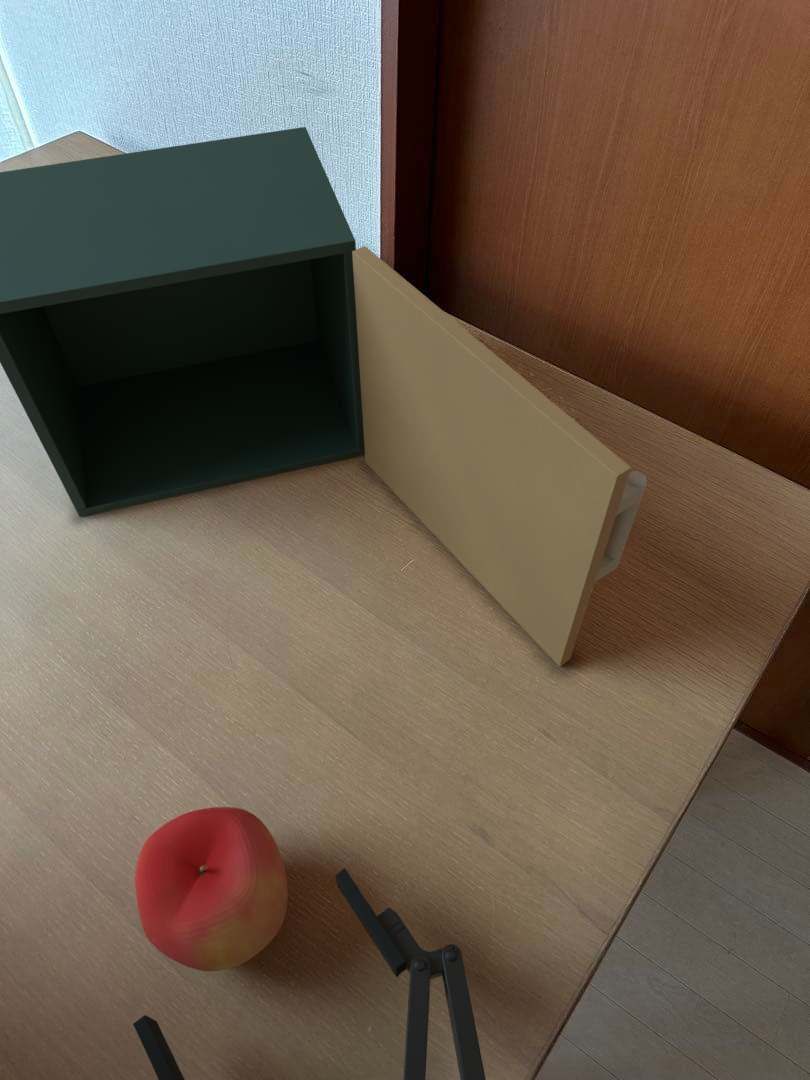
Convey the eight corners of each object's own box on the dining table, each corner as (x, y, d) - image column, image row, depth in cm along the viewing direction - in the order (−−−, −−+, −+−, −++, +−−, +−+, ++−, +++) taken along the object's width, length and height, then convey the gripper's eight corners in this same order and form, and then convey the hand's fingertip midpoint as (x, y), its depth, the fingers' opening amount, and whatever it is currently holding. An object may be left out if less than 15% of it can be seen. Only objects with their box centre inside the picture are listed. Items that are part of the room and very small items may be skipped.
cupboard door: (422, 431, 84) (425, 219, 65) (620, 623, 71) (698, 425, 52) (365, 462, 82) (351, 251, 63) (559, 667, 68) (617, 476, 49)
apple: (138, 971, 55) (92, 939, 47) (181, 827, 61) (146, 777, 52) (280, 994, 54) (258, 965, 46) (311, 846, 60) (295, 797, 52)
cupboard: (368, 454, 82) (355, 240, 63) (79, 517, 78) (-29, 306, 59) (327, 340, 93) (305, 126, 74) (70, 390, 88) (-25, 175, 69)
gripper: (253, 1537, 39) (73, 1095, 49) (633, 1146, 47) (412, 841, 58) (224, 1606, 33) (26, 1087, 43) (665, 1145, 41) (413, 805, 52)
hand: (247, 945), depth 50 cm, fingers open, 13 cm apart
